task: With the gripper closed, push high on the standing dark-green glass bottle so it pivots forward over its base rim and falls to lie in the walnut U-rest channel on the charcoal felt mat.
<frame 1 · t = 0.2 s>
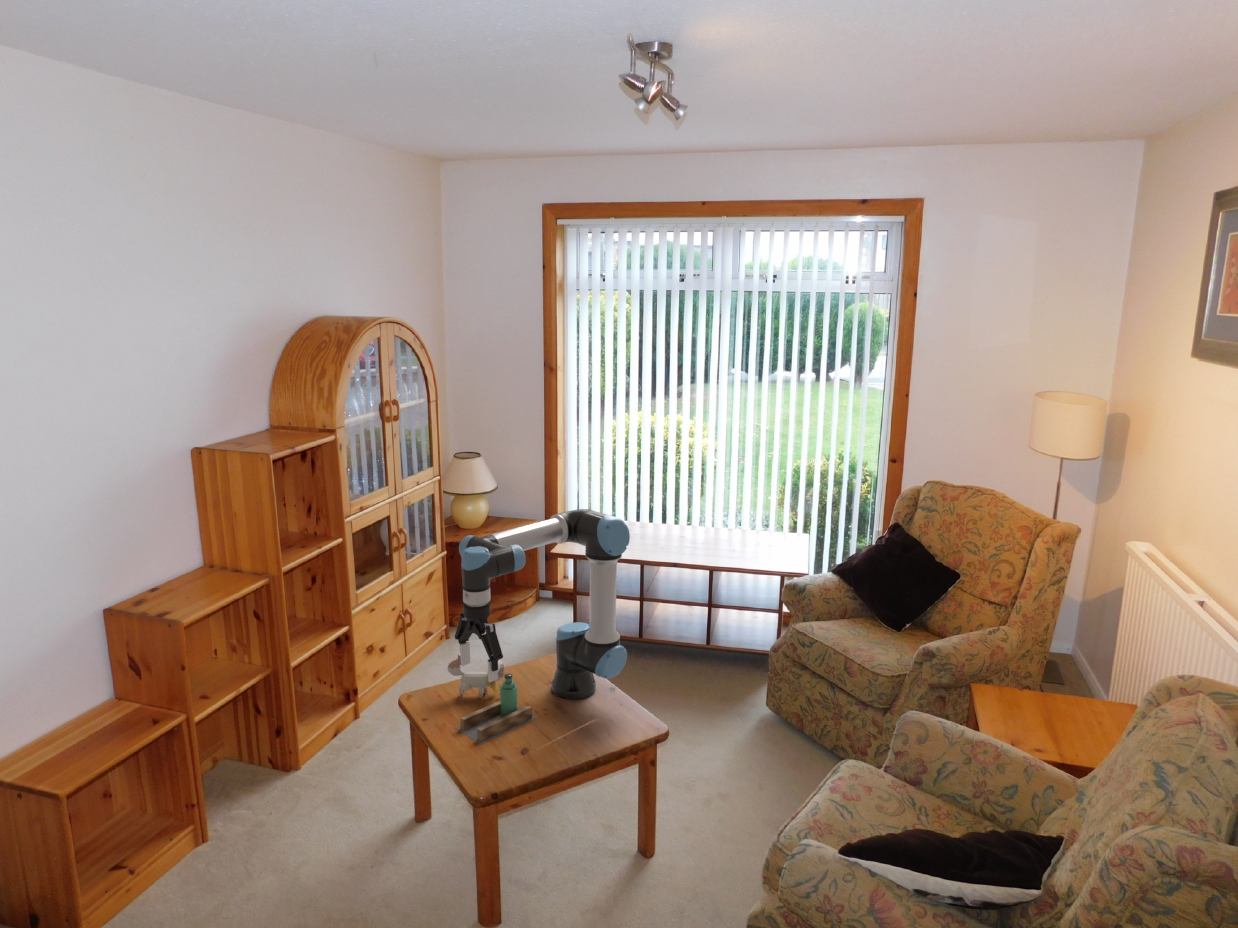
hand: (479, 672, 236), 28 cm above the table, fingers open, 13 cm apart
bottle: (509, 717, 265), resting on mat
mat: (496, 723, 262), on the table
rest: (496, 717, 261), on the mat
toy: (476, 697, 279), on the table
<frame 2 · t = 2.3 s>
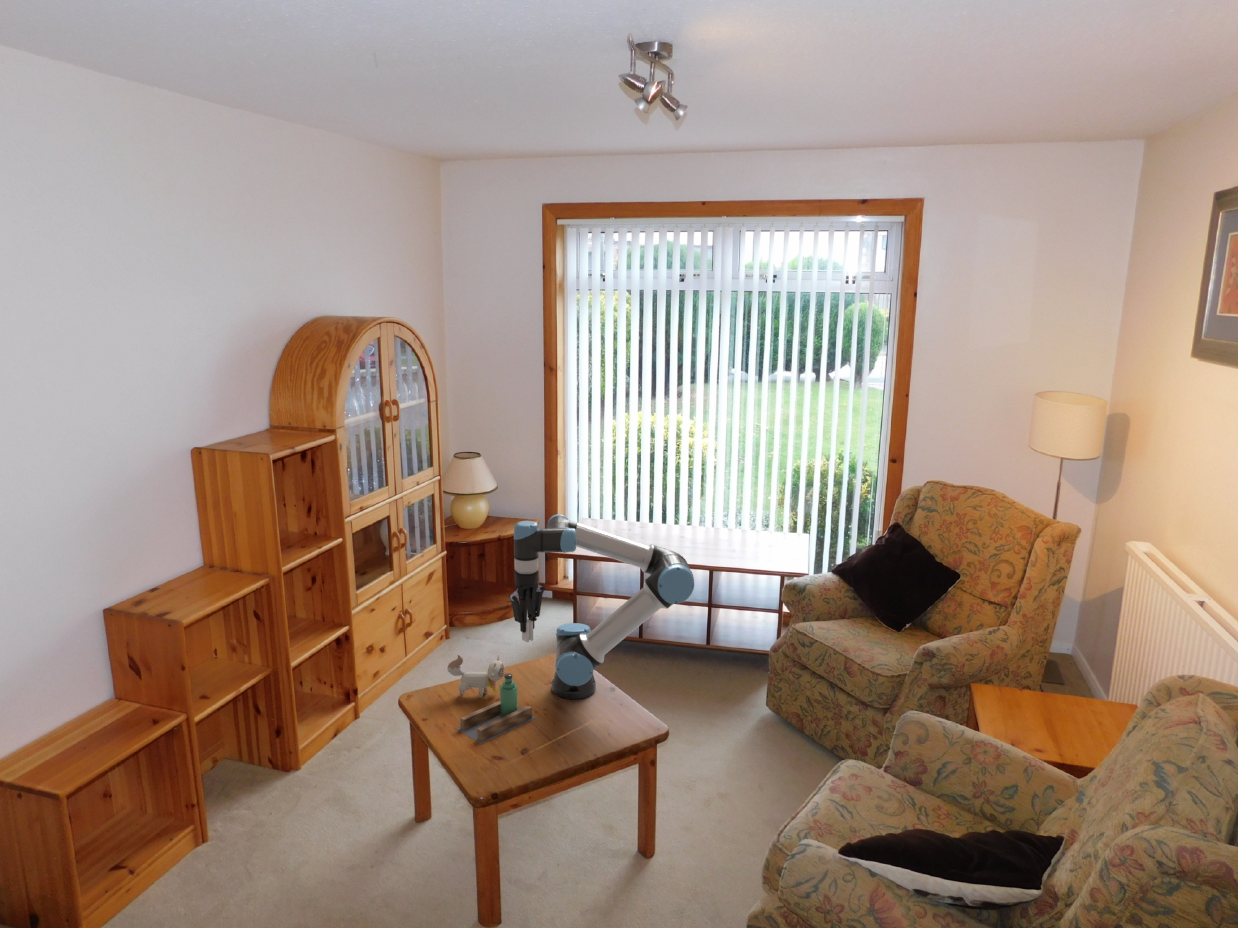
hand: (527, 639, 266), 24 cm above the table, fingers closed
nothing on the table moved.
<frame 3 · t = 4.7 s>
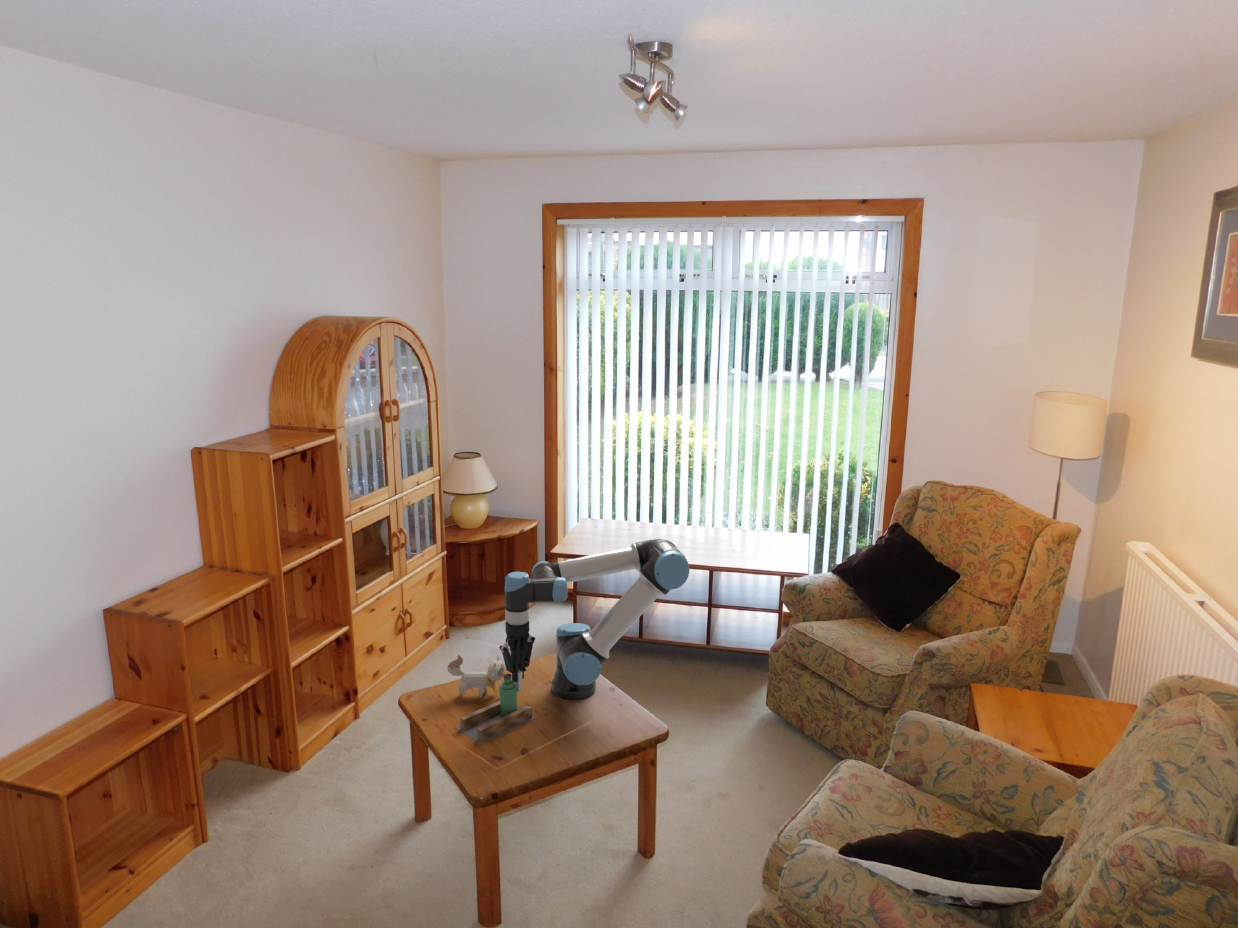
hand: (518, 689, 266), 9 cm above the table, fingers closed
bottle: (509, 716, 265), resting on mat, touching gripper
everything else where it was.
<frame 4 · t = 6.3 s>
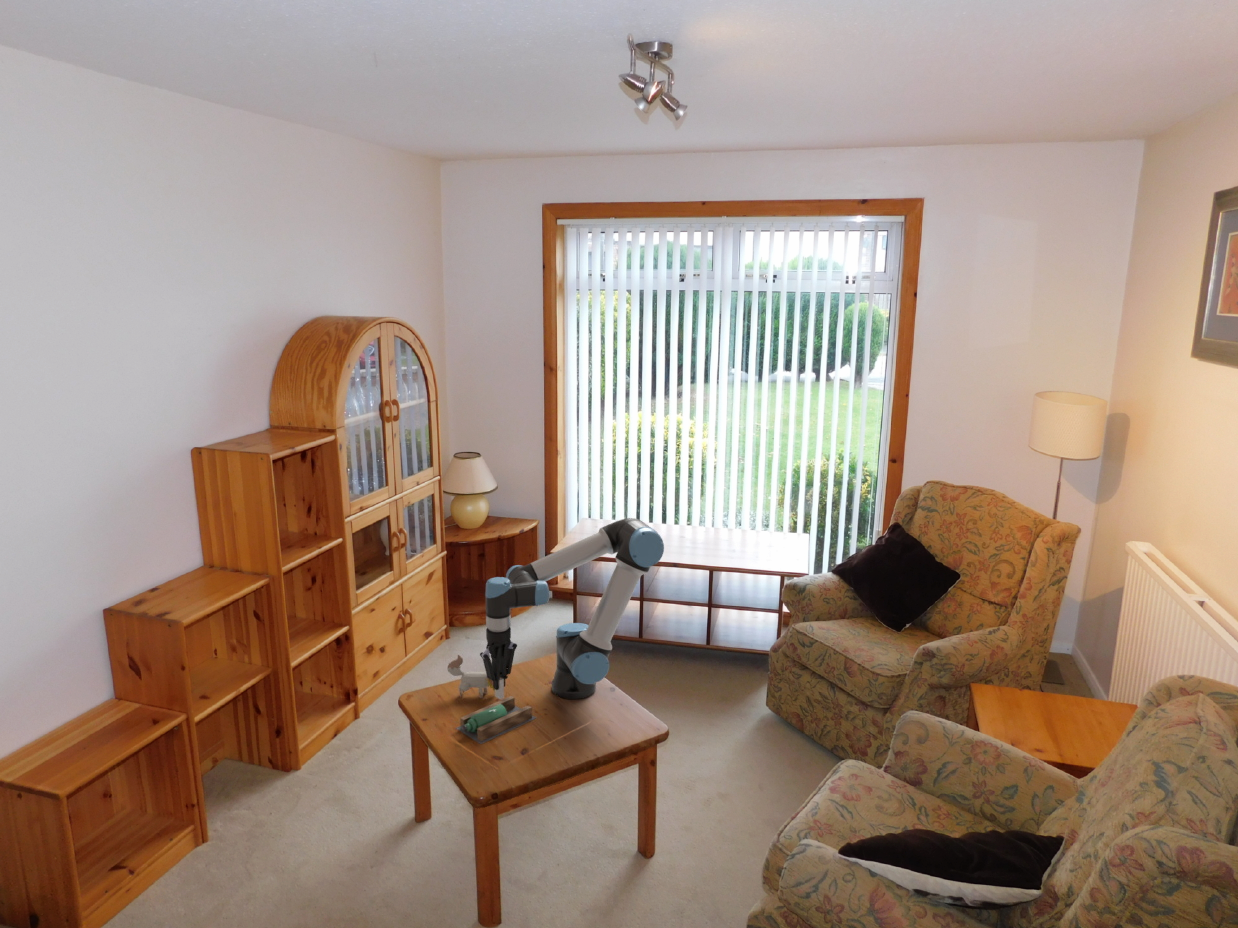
hand: (499, 697, 261), 9 cm above the table, fingers closed
bottle: (502, 712, 263), point 3 cm above the table, tilted 90°, touching mat
everything else where it was.
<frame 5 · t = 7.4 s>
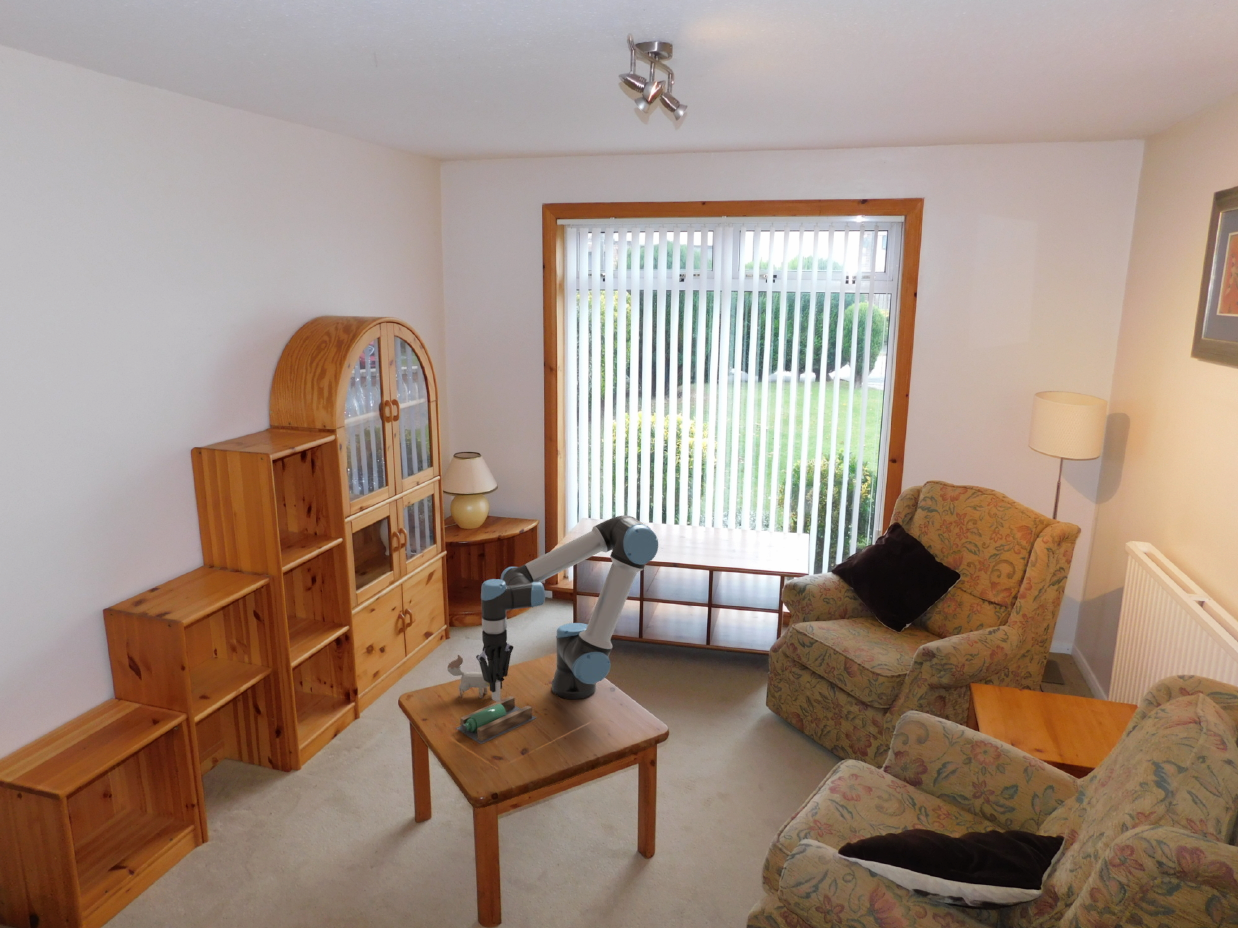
hand: (496, 699, 260), 8 cm above the table, fingers closed
nothing on the table moved.
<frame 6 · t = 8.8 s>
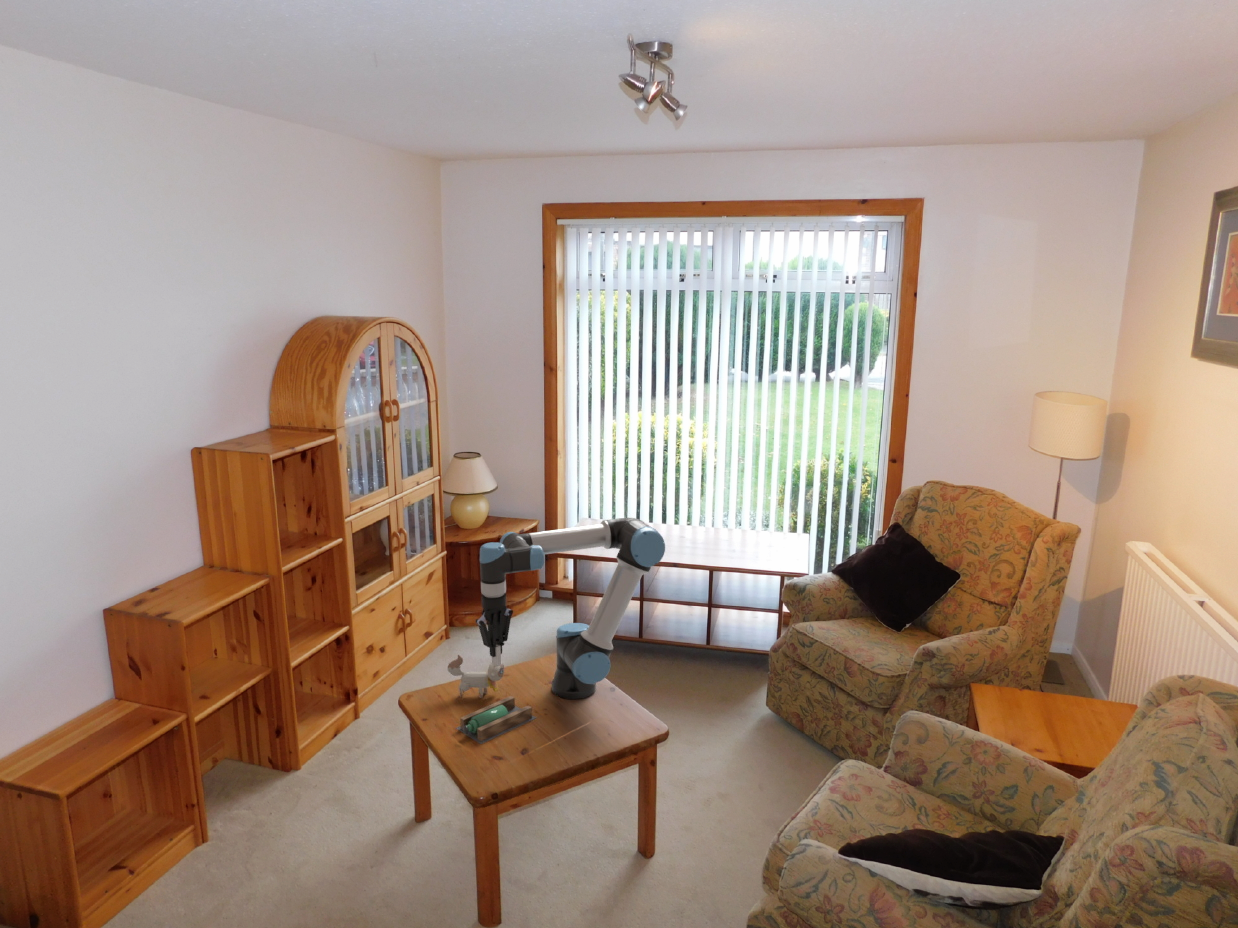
hand: (496, 664, 258), 20 cm above the table, fingers closed
bottle: (503, 713, 262), point 3 cm above the table, tilted 90°, touching mat
everything else where it was.
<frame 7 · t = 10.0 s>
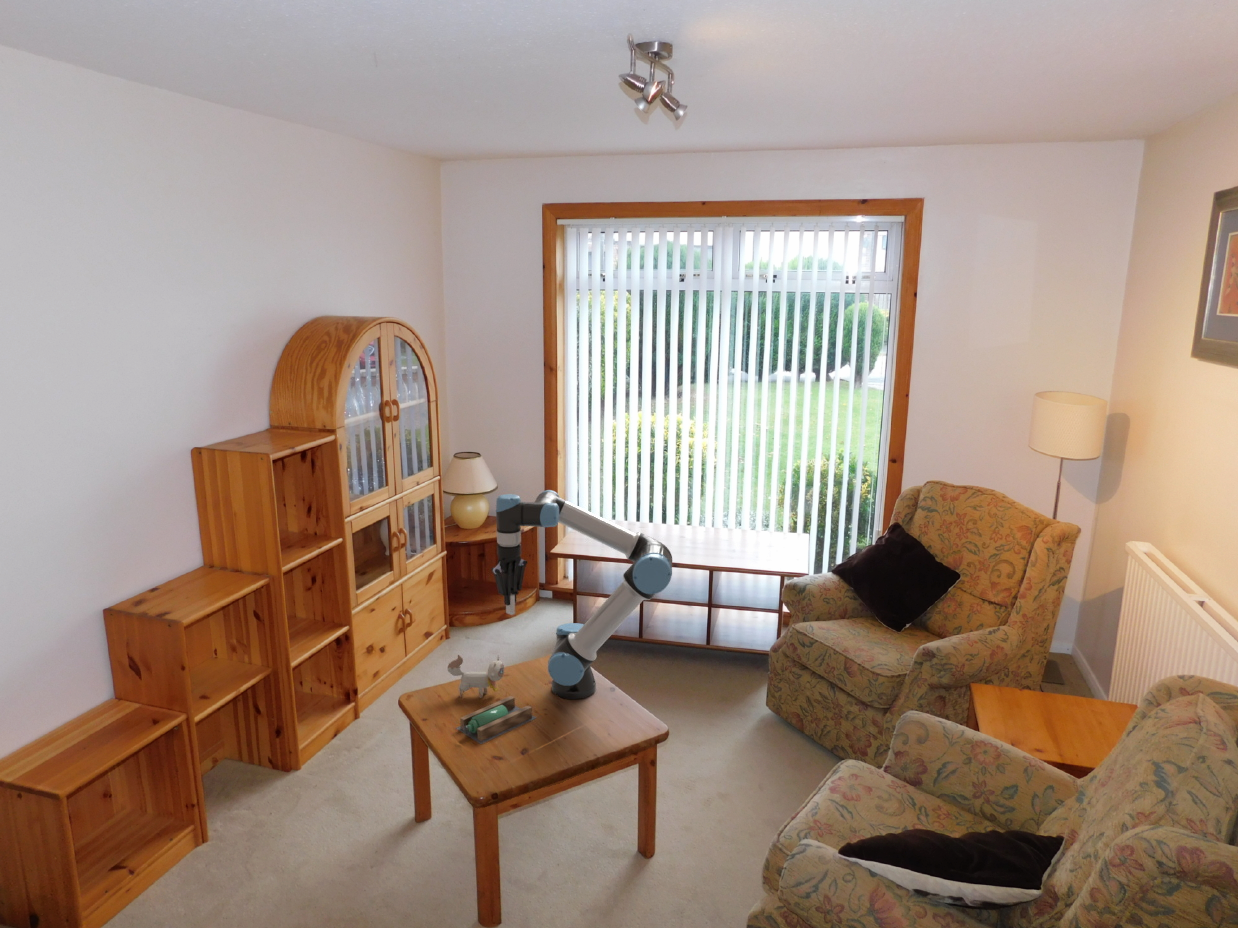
hand: (510, 613, 267), 32 cm above the table, fingers closed
nothing on the table moved.
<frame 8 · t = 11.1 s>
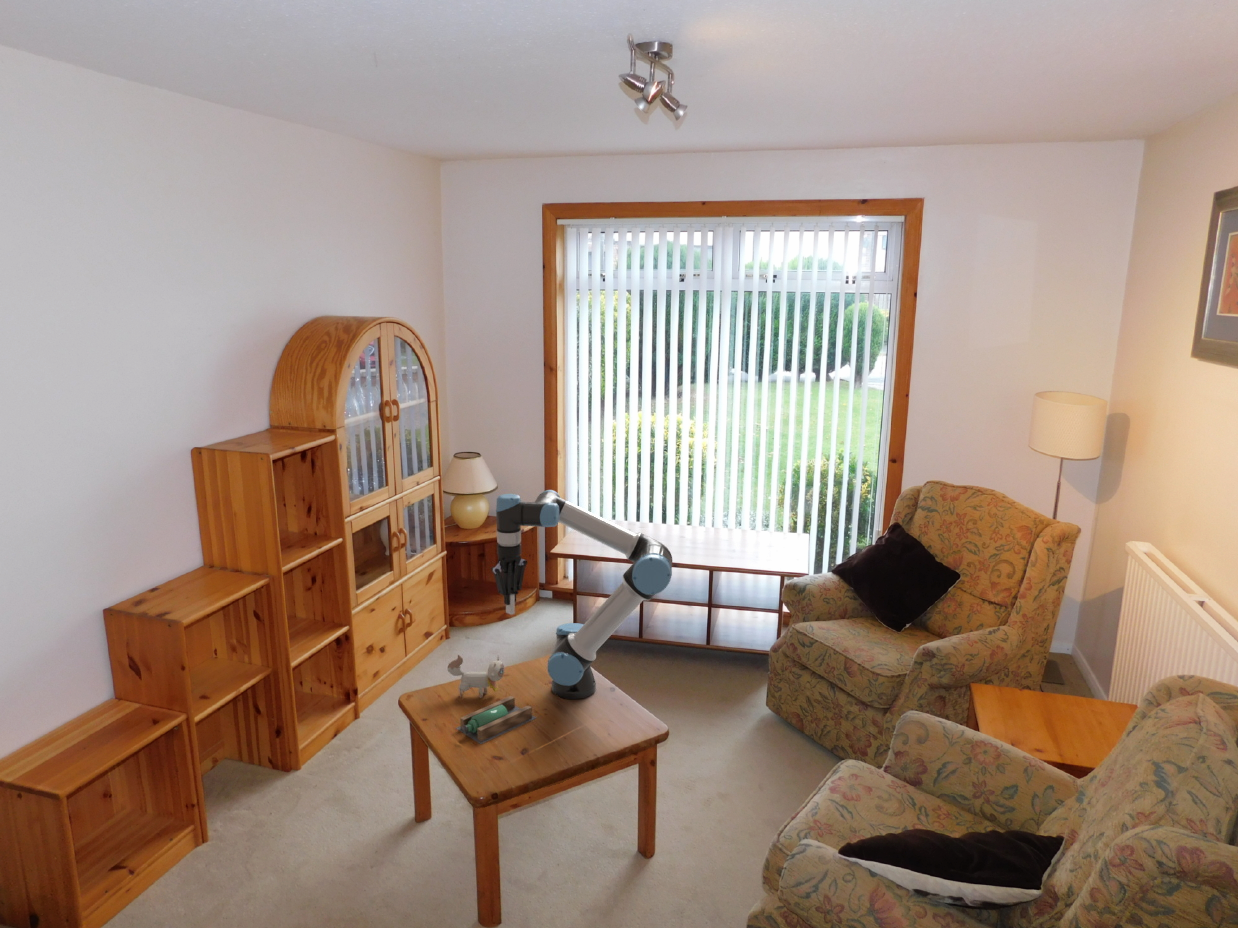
hand: (510, 612, 267), 32 cm above the table, fingers closed
nothing on the table moved.
at the end: bottle tilted 90°; bottle inside the target area on the rest (0.9 cm from its centre), point 3.1 cm above the rest's base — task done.
